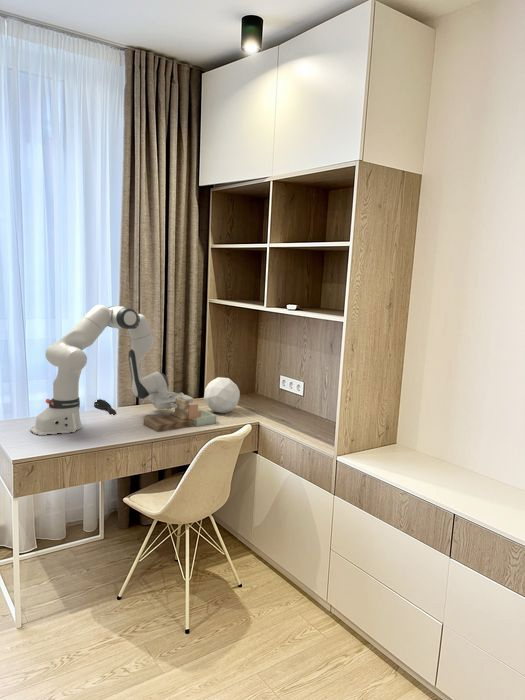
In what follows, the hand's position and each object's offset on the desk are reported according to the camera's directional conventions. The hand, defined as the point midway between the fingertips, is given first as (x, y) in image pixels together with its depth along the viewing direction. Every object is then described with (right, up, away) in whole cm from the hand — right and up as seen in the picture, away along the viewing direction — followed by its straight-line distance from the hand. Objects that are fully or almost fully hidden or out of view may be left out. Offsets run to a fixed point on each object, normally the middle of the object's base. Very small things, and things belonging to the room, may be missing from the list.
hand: (181, 406), depth 267 cm
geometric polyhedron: (+18, -6, +26) cm, 32 cm away
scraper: (0, -5, +1) cm, 6 cm away
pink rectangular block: (+2, -5, +4) cm, 7 cm away
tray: (+7, -8, +7) cm, 13 cm away
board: (-6, -9, -3) cm, 11 cm away
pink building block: (+5, -6, +1) cm, 8 cm away
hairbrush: (-43, -5, +20) cm, 48 cm away
